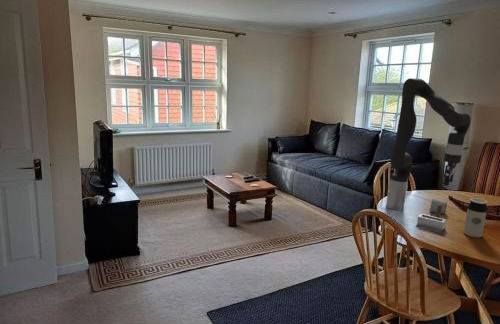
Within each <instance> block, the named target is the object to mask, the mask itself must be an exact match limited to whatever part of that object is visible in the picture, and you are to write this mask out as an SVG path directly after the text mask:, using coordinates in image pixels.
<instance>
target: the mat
mask: <svg viewBox="0 0 500 324" xmlns="http://www.w3.org/2000/svg"><path fill="white" fill-rule="evenodd" d="M415 227H416V228H421V229H424V230H428V231H432V232H437V233H440V234H441V233H442V232H443V231H440V230H436V229H433V228H429V227H425V226H421V225H417V224H415Z"/></svg>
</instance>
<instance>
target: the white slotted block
mask: <svg viewBox="0 0 500 324" xmlns="http://www.w3.org/2000/svg"><path fill="white" fill-rule="evenodd" d="M446 222H447V219H446V218H443V217H442V218H441V217H440V218H438V217H436V216H432V215H428V214H425V213H420V214H419V215H418V216H417V223H416V225H421V226H425V227H429V228H433V229H436V230H440V231H442V232H443V231H444V229H445V228H446Z"/></svg>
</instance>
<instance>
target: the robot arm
mask: <svg viewBox="0 0 500 324" xmlns="http://www.w3.org/2000/svg"><path fill="white" fill-rule="evenodd" d="M416 96H417V97H421V98H423V99H424V100H425V101H426V102H427V103H428V104H429V106H430V108H431V109H432V110H433V111H434V112H436V114H438V115H439V116H441V117H442V119H444V121H445V122H446V124H448V126H450V127H452V128H454V129H453V130H452V131H451V132H448V136H447V142H446V146H445V151H444V156H443V161H444V162H446V163H447V164H446V165H445V166H444V174H443V178H444V181H443V185H444V186H450V183H452V182H453V181H454V175H455V174H456V169H457V164H460V163H461V162H462V156H463V151H464V143H465V142H464V141H465V137H466V135H467V133H468V131H469V128H470V126H471V116H470V114H468V113H467V112H457V111H455V109H456V108H455V107H454V106H453V104H451V103H450V102H449V101H447V100H446V99H444V98H443V97H442V96H440V95H439V94H438V93H436V91H435V90H433V88H432V87H431V86H430V85H429V83H427V82H426V81H425V80H424V79H421V78H414V77H412V78H411V77H410V78H407V79H406V80H405V81H404V82H403V85H402V94H401V107H400V114H399V118H398V121H397V122H398V124H397V128H396V129H397V131H396V136H395V140H394V146H393V149H392V153H391V157H390V161H389V162H390V165H391V168H393V169H394V172H392V174H391V175H390V182H389V189H388V191H387V196H386V205H385V208H389V209H390V210H394V211H402V210H404V209H405V202H406V196H407V195H406V194H407V189H408V188H407V187H408V182H409V181H408V180H409V177H410V175H411V171H412V167H413V166H412V165H413V157H412V155H410V153H408V152H407V151H406V150H407V147H408V145H409V143H410V141H411V140H412V138H413V136H414V134H415V132H416V127H417V121H418V119H417V115H416V110H415V107H414V105H415V104H414V103H415V97H416Z"/></svg>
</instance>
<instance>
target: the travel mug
mask: <svg viewBox="0 0 500 324" xmlns="http://www.w3.org/2000/svg"><path fill="white" fill-rule="evenodd" d="M488 203H489V202H488V201H487V200H486V199H483V198H477V197H472V198H469V204H468V205H467V210H466V217H465V222H464V228H463V234H465V235H466V236H468V237H472V238H481V237H482V236H483V232H484V227H485V222H486V217H487V212H488V207H487V205H488Z"/></svg>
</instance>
